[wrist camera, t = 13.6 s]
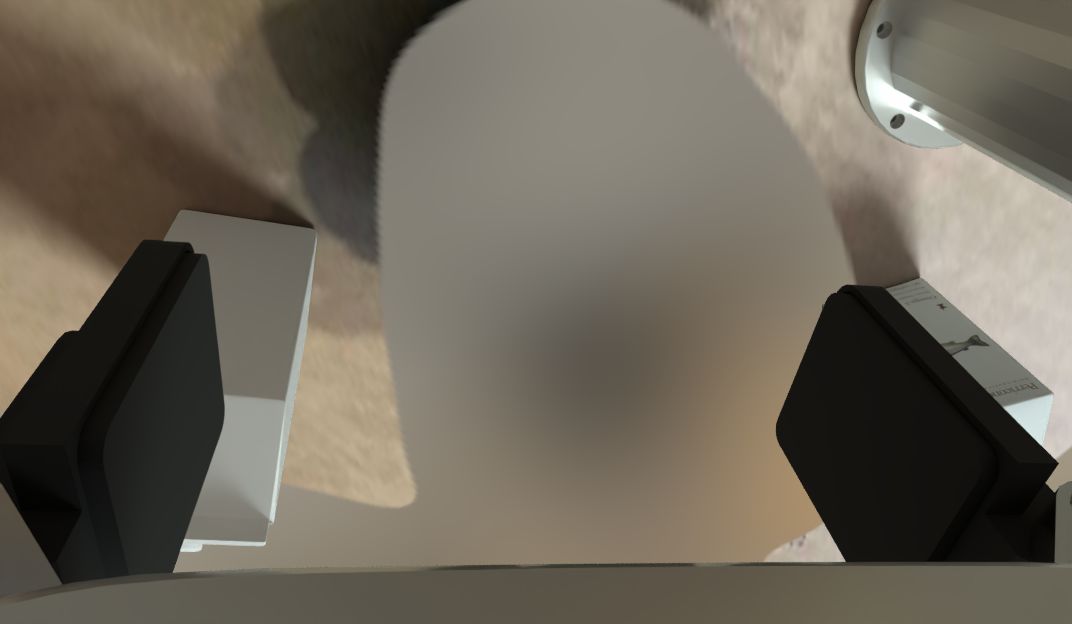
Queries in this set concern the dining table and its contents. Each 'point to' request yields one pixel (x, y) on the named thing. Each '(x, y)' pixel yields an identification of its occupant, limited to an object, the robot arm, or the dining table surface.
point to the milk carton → (250, 365)
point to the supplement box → (979, 356)
